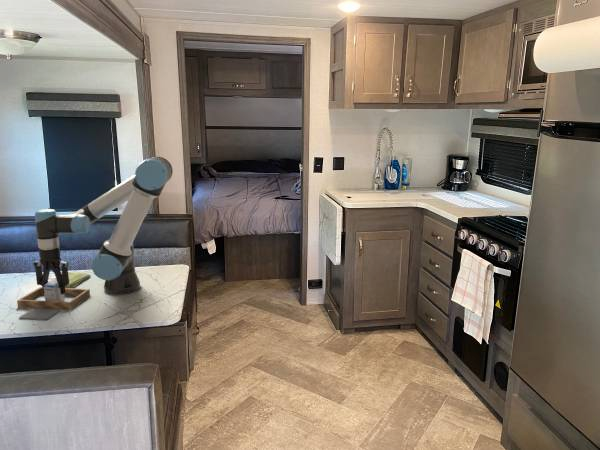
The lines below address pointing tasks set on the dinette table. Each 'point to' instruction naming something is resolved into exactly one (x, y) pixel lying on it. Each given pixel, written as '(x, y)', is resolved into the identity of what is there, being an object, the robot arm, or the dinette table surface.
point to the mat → (40, 314)
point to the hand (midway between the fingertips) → (55, 300)
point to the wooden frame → (31, 303)
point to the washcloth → (76, 279)
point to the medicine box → (51, 290)
